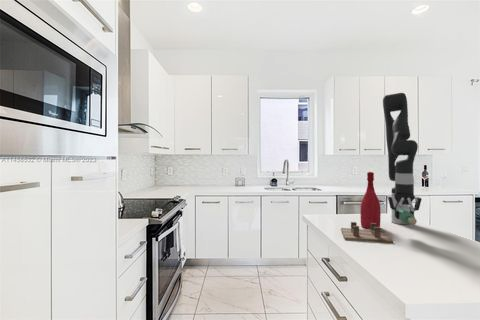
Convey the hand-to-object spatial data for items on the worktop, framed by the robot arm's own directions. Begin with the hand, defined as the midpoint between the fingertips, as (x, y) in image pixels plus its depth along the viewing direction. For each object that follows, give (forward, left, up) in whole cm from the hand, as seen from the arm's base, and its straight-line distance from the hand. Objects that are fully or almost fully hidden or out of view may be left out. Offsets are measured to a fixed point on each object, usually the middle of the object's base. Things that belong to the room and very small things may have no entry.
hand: (404, 218), depth 128 cm
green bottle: (+3, 0, -1) cm, 3 cm away
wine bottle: (-18, -11, -9) cm, 23 cm away
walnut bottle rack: (+2, -17, -9) cm, 20 cm away
